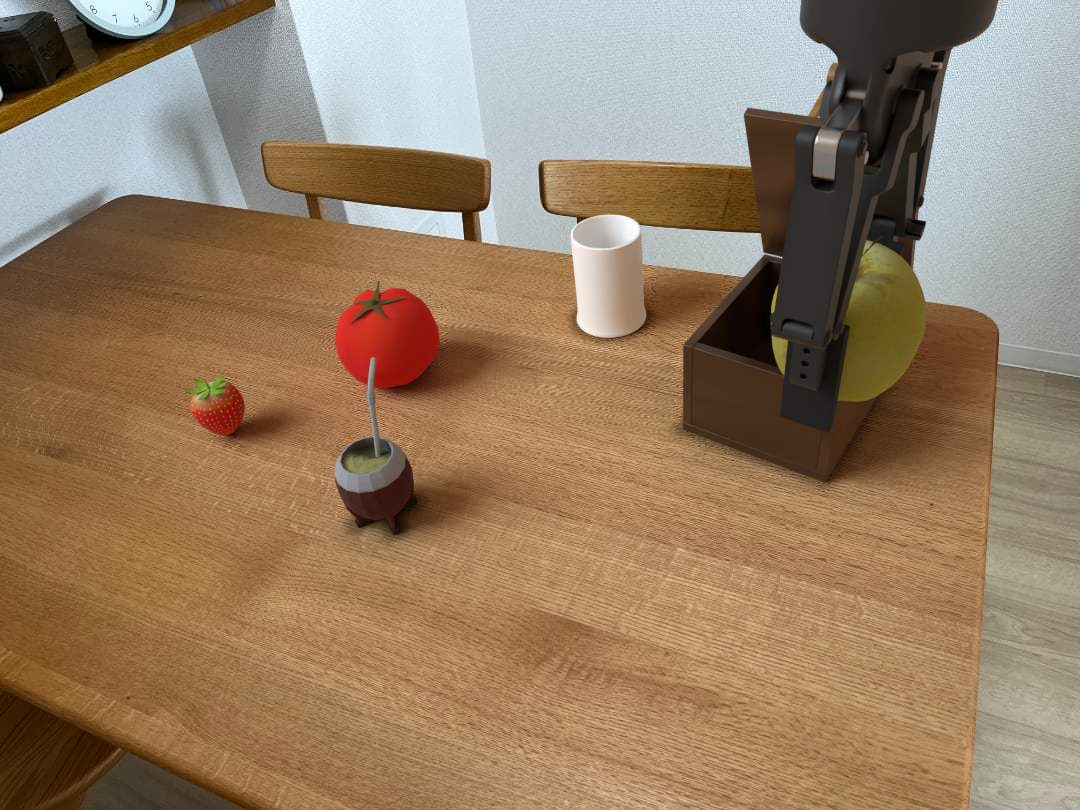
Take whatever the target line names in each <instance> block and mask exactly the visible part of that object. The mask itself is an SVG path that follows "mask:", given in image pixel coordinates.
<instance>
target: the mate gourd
mask: <svg viewBox="0 0 1080 810" xmlns="http://www.w3.org/2000/svg"><path fill="white" fill-rule="evenodd" d="M375 366H376V358H371V361H370V369H369V377H368V385H367V392H366V401H367V404H368V408H369V415H370V423H371V429H372V436H365V437H362V438H359V439H357V440H354V441H352V442H351V443H350V444H349V445H347V446H346V447H345V448H344V449H343V451H341V453H340V454H339V457H337V460H336V463H335V468H334V483H335V486H336V489H337V493H338V494H339V496H340V498H341V500H342V503H343V505H344V507H345V508H346V510H347V511H348V512H349V513H350V514H351V516H353V517H354V518H355V519H354V523H355V525H356V526H357V528H361V527H364V526H366V525H369V524H371V523H374V522H377V521H379V520H385V522H386V525H387V526H388V527H387V528H389V531H390V533H391V534H392V536H394V535H395V536H396V535H398V534H400V533H401V531H400V527H399V525H398V523H397V520H396V518H395V516H396V515H397V514H398V513H399V512H400V511H403V510H405V509H407V508H410V507H412V506H415V505H417V504H418V498H417V496H416V495H415V494H414V491H415V479H414V472H413V467H412V465H411V463H410V461H409V459H408V457H407V455H406V453H405V452H404V451H403V448H402V447H401V446H400V445H398V444H397V443H395V442H393V441H391V440H390V439H387V438H386V437H381V436H380V432H379V424H378V417H377V411H376V410H377V409H376V403H377V400H376V399H377V398H376V392H375V390H374V389H375V387H374V375H375Z"/></svg>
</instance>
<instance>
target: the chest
mask: <svg viewBox="0 0 1080 810" xmlns="http://www.w3.org/2000/svg"><path fill="white" fill-rule="evenodd" d="M782 258H783V257H779V256H774V255H771V254H767V253H763V255H762V256H761V258H760V259H759V260H758V261H757V262H756V263H755V264H754V265H753V266H752V268H751V269H749V270H748V272H747V273H746V274H745V275H744V277H743V278H742V279H741V280H740V281H739V282H738V283H737V284H736V285H735V286H734V287H733V289H731V291H730V292H729V293H728V294H727V295H726V296H725V298H723V300H721V302H720V303H719V304H718V305H717V306H716V308H715V309H714V310H713V311H712V312H711V313H710V314H709V315H708V317H707V318H706V319H705V320H704V321H703V322H702V323H701V324H700V325H699V327H697V329H696V330H695V331H694V332H693V333H692V334H691V336H689V337H688V339H687V340H686V341H685V342H684V343H683V345H682V430H684V431H686V432H689V433H692V434H695V435H697V436H700V437H703V438H704V439H708V440H710V441H713V442H715V443H718V444H720V445H724V446H726V447H729V448H732V449H733V450H734V449H735V450H737V451H740V452H742V453H745V454H747V455H750V456H753V457H756V458H758V459H761V460H764V461H766V462H769V463H770V464H771V463H772V464H774V465H777V466H780V467H782V468H785V469H788V470H791V471H793V472H795V473H798V474H801V475H804V476H806V477H809V478H812V479H814V480H817V481H819V482H822V483H826V482H827V481H828V479H829V477H830V475H831V473H832V472H833V471H834V469H835V468H836V465H837V464H838V463H839V460H840V459H841V457H842V456H843V454H844V452H845V450H846V449H847V448H848V445H849V444H850V443H851V441H852V439H853V437H854V436H855V434H856V432H857V431H858V429H859V428H860V426H861V424H862V423H863V421H864V419H865V418H866V416H867V414H868V412H869V411H870V409H871V408H872V406H873V404H874V403H875V401H876V400H877V398H878V396H879V395H877V396H876V397H874V398H872V399H869V400H866V401H859V402H854V401H842V400H838V401H837V406H836V412H835V418H834V424H833V426H832V428H831V429H830V431H829V432H828V433H827V432H824V431H821V430H818V429H815V428H812V427H809V426H806V425H803V424H800V423H797V422H794V421H791V420H788V419H785V418H782V417H780V409H781V400H782V391H783V381H784V375H783V374H782V372H781V370H780V369H779V367H778V364H777V362H776V359H775V355H774V351H773V345H772V335H771V321H770V316H771V308H772V301H773V297H774V293H775V291H776V288H777V286H778V283H779V277H780V271H781V264H782Z"/></svg>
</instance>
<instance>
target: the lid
mask: <svg viewBox="0 0 1080 810" xmlns="http://www.w3.org/2000/svg"><path fill="white" fill-rule="evenodd" d="M837 66H838V62H833V63H831V65H830V66H829V69H828V71H827V74H826V81H825V85H824V87H823V88H822V90H821V92H820V93H819V96H818V98H817V99H816V101H815V103H814V105H813V106H812V108H811V110H810V111H809V113H808V115H804V114H803V115H802V114H796V113H790V112H789V113H788V112H782V111H775V110H768V109H762V108H755V107H747V108H746V110H745V111H744V113H743V121H744V127H745V135H746V143H747V147H748V155H749V161H750V163H749V164H750V169H751V174H752V175H751V176H752V184H753V190H754V197H755V204H756V211H757V218H758V225H759V233H760V238H761V246H762V252H763V254H766V255H770V256H774V257H779V258H783V252H784V245H785V239H786V233H787V226H788V220H789V214H790V207H791V201H792V195H793V188H794V176H795V139H796V136H797V134H798V132H799V130H800V128H801V126H802V125H803V124H808V125H815V126H821V123H822V122H821V120H820V117H819V109H820V105H821V101H822V97H823V93H824V89H825V87H826V84H827V83H828V81H829V80H833V78H834V73H835V69H836V67H837ZM912 219H917V220H919V211H918V212H912ZM897 242H901V243H905V248H904V253H903V259H904V260H905V261H906V262H907V263H908V264H909V265H910V267H911V268H912V270H913V271H914V265H915V264H914V263H915V253H916V244H917V240H912V239H907V238H902V237H898V241H897Z"/></svg>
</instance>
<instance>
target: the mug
mask: <svg viewBox="0 0 1080 810" xmlns="http://www.w3.org/2000/svg"><path fill="white" fill-rule="evenodd" d="M642 234H643V233H642V227H641V225H640V223H639V222H638V221H637V220H635V219H633V218H632V217H629V216H626V215H622V214H600V215H595V216H590V217H588V218H586V219H583V220H581V221H580V222H578V223H577V224H576V225H575V226H573V228H572V229H571V231H570V243H571V255H572V265H573V275H574V285H575V295H576V304H577V306H576V307H577V314H576V324H577V325H578V327H579V328H580V329H581V330H582V331H583V332H584V333H586V334H588V335H589V336H593V337H597V338H603V339H615V338H621V337H625V336H629V335H630V334H633V333H634V332H636V331H638V330H639V329H640V328H641V327H642V326H643V325H644V323H645V322H646V319H647V310H646V307H645V295H644V269H643V268H644V264H643V239H642Z"/></svg>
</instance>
